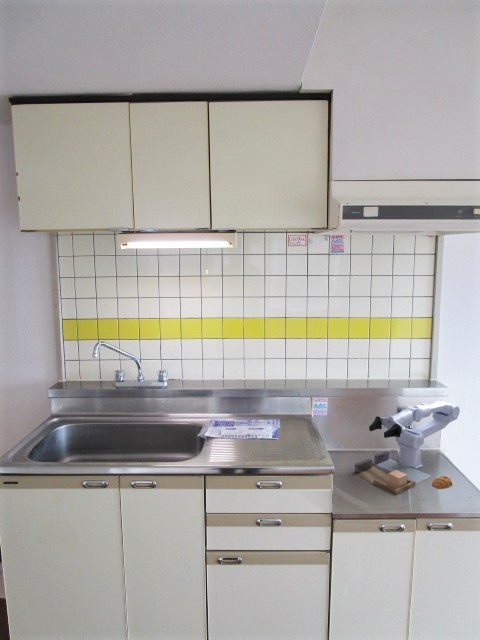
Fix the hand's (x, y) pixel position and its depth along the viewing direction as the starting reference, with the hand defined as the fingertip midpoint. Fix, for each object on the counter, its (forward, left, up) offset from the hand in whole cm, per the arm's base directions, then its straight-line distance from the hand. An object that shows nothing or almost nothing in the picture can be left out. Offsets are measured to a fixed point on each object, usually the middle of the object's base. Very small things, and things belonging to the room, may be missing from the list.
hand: (377, 432), depth 178 cm
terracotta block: (+1, +11, -19) cm, 22 cm away
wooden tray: (+1, +4, -20) cm, 21 cm away
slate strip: (-13, +3, -20) cm, 24 cm away
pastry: (-15, +20, -21) cm, 33 cm away
